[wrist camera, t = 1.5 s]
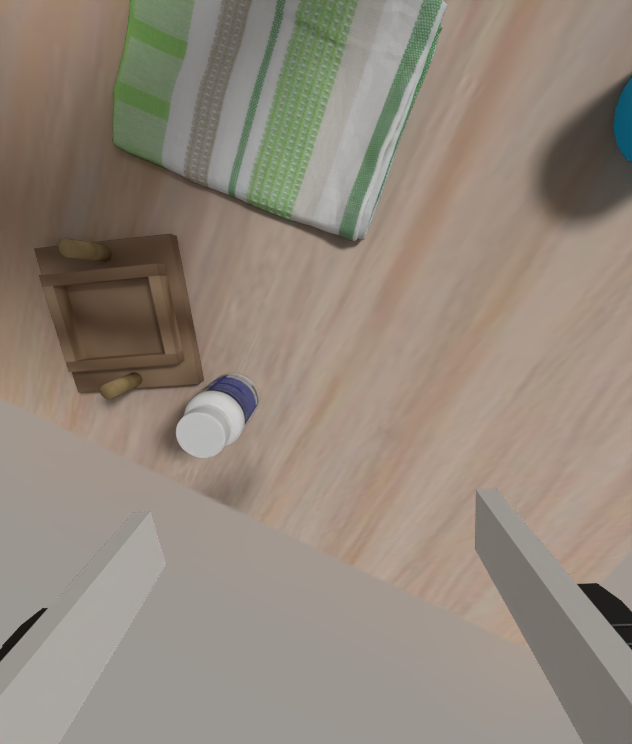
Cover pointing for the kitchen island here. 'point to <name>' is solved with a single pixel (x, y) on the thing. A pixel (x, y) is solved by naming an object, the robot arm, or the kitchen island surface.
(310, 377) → the kitchen island surface
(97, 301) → the cradle
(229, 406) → the pill bottle
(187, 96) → the dish towel
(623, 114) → the mug
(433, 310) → the kitchen island surface
